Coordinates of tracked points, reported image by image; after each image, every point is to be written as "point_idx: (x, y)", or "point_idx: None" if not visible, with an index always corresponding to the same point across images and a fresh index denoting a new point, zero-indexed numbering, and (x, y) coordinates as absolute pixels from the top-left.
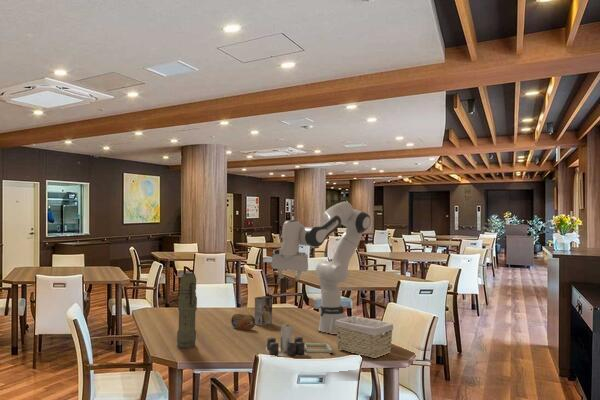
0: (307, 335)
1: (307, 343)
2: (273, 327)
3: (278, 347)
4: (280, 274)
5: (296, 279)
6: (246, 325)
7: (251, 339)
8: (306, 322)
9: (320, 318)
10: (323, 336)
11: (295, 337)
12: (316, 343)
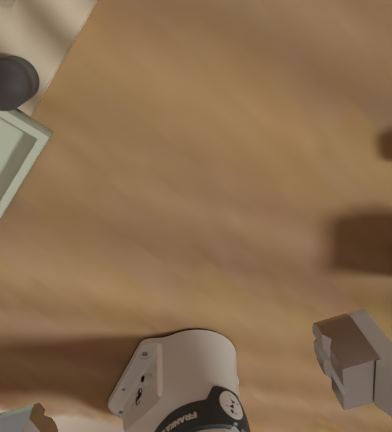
0: (202, 272)
1: (38, 153)
2: (382, 249)
3: (88, 5)
4: (383, 370)
5: (2, 413)
6: None
7: (326, 37)
8: None
9: (227, 379)
10: (151, 305)
11: (16, 77)
12: (16, 186)
